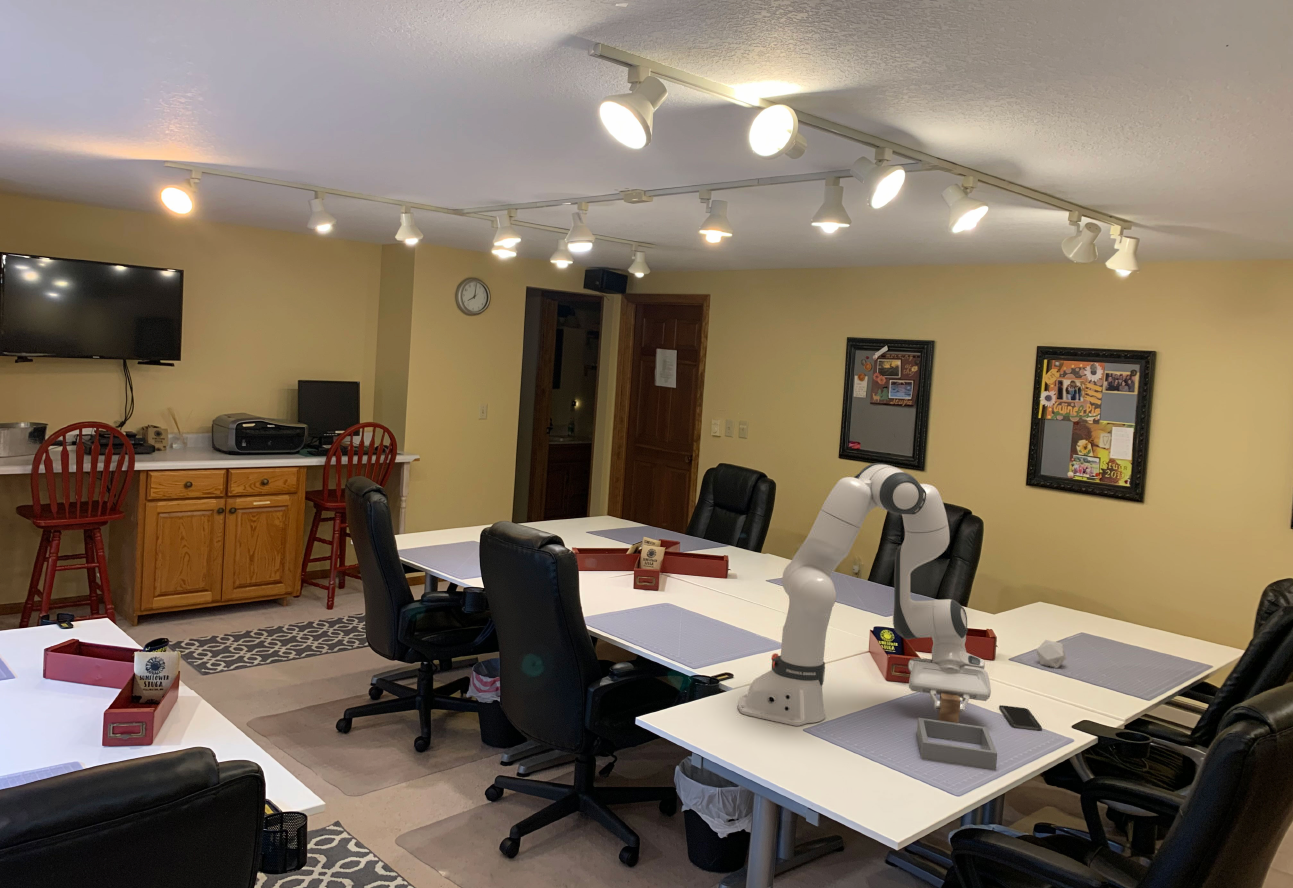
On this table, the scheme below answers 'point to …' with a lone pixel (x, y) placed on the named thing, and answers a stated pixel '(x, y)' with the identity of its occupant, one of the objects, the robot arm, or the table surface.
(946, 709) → the walnut block
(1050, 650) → the die
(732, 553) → the table surface
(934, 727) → the box
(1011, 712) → the phone
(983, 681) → the robot arm
